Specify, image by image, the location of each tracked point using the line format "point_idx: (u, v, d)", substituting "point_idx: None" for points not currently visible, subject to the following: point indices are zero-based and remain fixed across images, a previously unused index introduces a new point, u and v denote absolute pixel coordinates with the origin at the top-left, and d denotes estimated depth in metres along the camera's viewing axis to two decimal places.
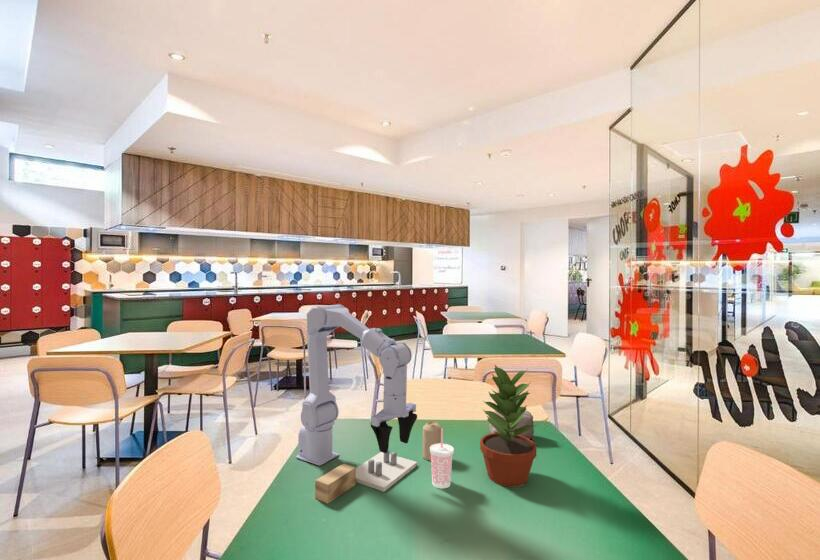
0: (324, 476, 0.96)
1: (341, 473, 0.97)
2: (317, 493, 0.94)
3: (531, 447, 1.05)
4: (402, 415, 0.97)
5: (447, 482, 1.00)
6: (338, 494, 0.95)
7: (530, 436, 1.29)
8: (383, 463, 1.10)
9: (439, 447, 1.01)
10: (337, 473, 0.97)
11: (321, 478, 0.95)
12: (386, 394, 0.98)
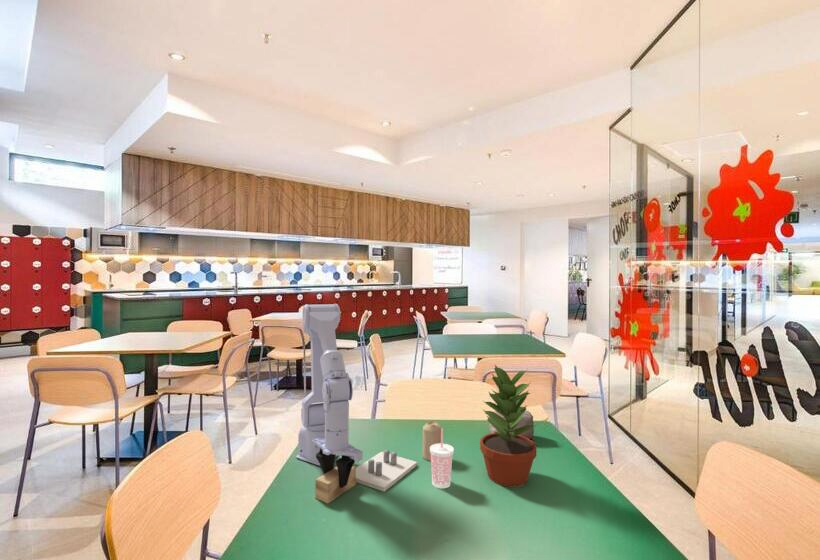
0: (324, 475, 0.96)
1: None
2: (317, 492, 0.94)
3: (531, 447, 1.05)
4: None
5: (447, 482, 1.00)
6: (338, 493, 0.95)
7: (530, 436, 1.29)
8: (383, 463, 1.10)
9: (439, 447, 1.01)
10: (337, 472, 0.97)
11: (321, 477, 0.95)
12: None
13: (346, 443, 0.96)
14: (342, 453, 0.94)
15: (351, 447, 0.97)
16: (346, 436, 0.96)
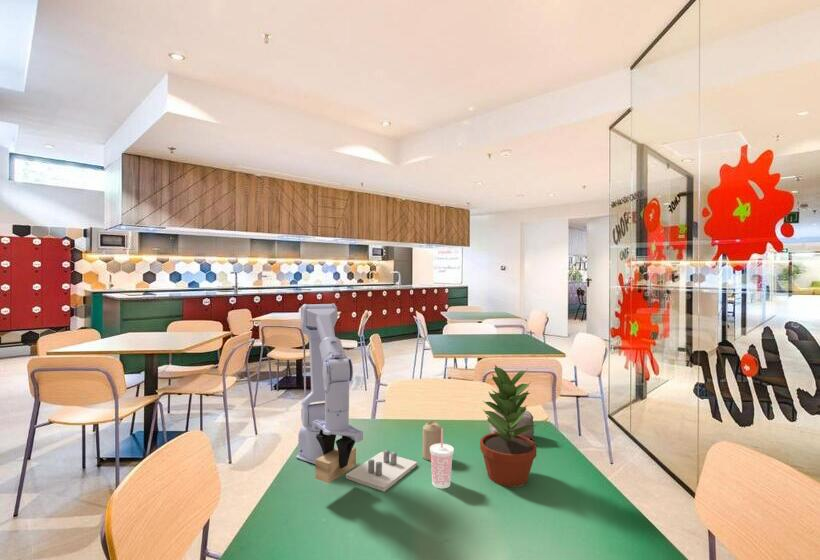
0: (324, 456, 0.96)
1: None
2: (317, 472, 0.94)
3: (531, 447, 1.05)
4: None
5: (447, 482, 1.00)
6: (338, 474, 0.95)
7: (530, 436, 1.29)
8: (383, 463, 1.10)
9: (439, 447, 1.01)
10: (337, 453, 0.97)
11: (321, 457, 0.95)
12: None
13: (346, 424, 0.96)
14: (342, 433, 0.94)
15: (351, 428, 0.97)
16: (346, 417, 0.96)
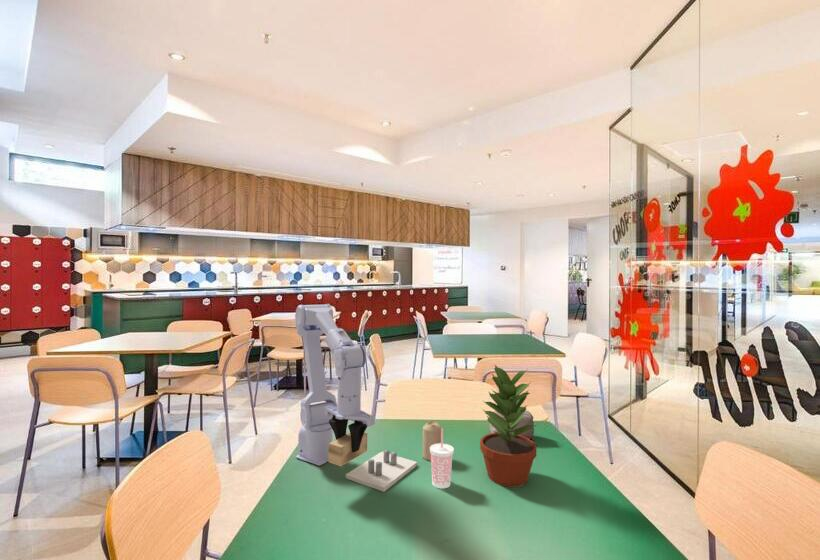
0: (337, 440, 0.98)
1: None
2: (330, 456, 0.96)
3: (531, 447, 1.05)
4: None
5: (447, 482, 1.00)
6: (351, 457, 0.97)
7: (530, 436, 1.29)
8: (383, 463, 1.10)
9: (439, 447, 1.01)
10: (350, 438, 1.00)
11: (334, 442, 0.97)
12: None
13: (358, 409, 0.98)
14: (355, 418, 0.96)
15: (363, 413, 0.99)
16: (358, 402, 0.98)
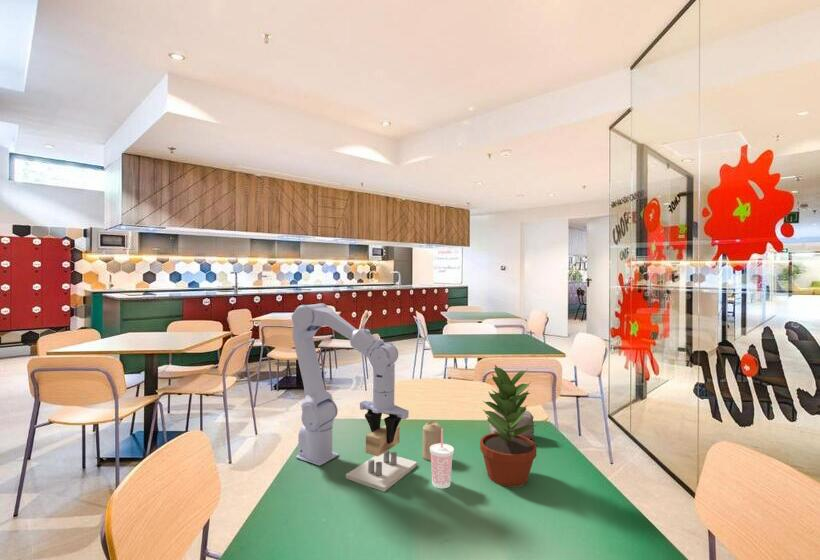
0: (373, 432, 1.06)
1: None
2: (367, 447, 1.04)
3: (531, 447, 1.05)
4: None
5: (447, 482, 1.00)
6: (386, 448, 1.05)
7: (530, 436, 1.29)
8: (383, 463, 1.10)
9: (439, 447, 1.01)
10: (384, 430, 1.07)
11: (371, 434, 1.05)
12: None
13: (393, 403, 1.06)
14: (390, 411, 1.04)
15: (397, 407, 1.07)
16: (393, 397, 1.06)
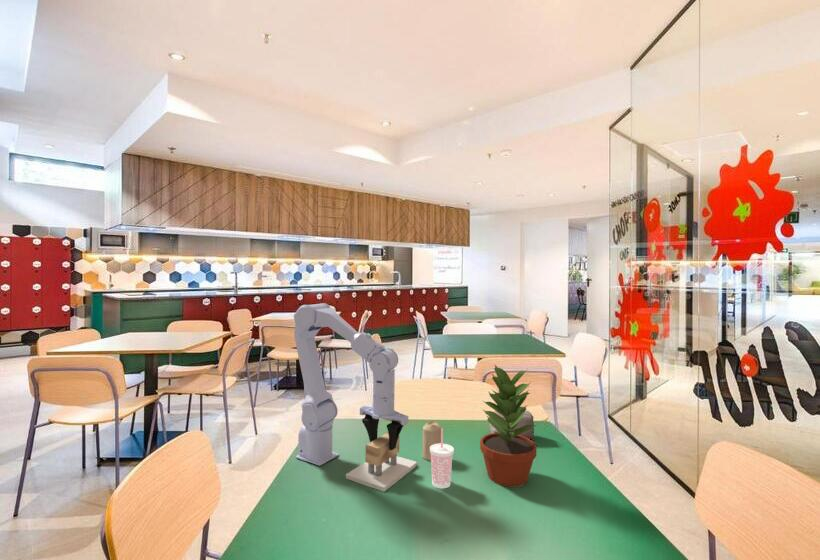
0: (373, 442, 1.06)
1: (388, 440, 1.07)
2: (367, 456, 1.04)
3: (531, 447, 1.05)
4: None
5: (447, 482, 1.00)
6: (386, 458, 1.05)
7: (530, 436, 1.29)
8: (383, 463, 1.10)
9: (439, 447, 1.01)
10: (384, 440, 1.07)
11: (370, 443, 1.05)
12: None
13: (392, 409, 1.06)
14: (390, 417, 1.04)
15: (397, 413, 1.07)
16: (392, 403, 1.06)
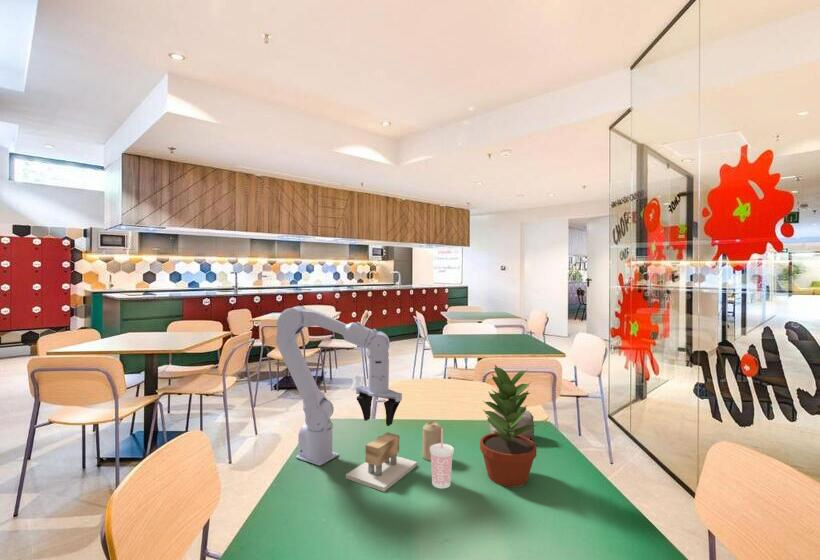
0: (373, 442, 1.06)
1: (388, 440, 1.07)
2: (367, 456, 1.04)
3: (531, 447, 1.05)
4: None
5: (447, 482, 1.00)
6: (386, 458, 1.05)
7: (530, 436, 1.29)
8: (383, 463, 1.10)
9: (439, 447, 1.01)
10: (384, 440, 1.07)
11: (370, 443, 1.05)
12: None
13: (387, 387, 1.14)
14: (385, 395, 1.12)
15: (391, 391, 1.15)
16: (387, 381, 1.14)
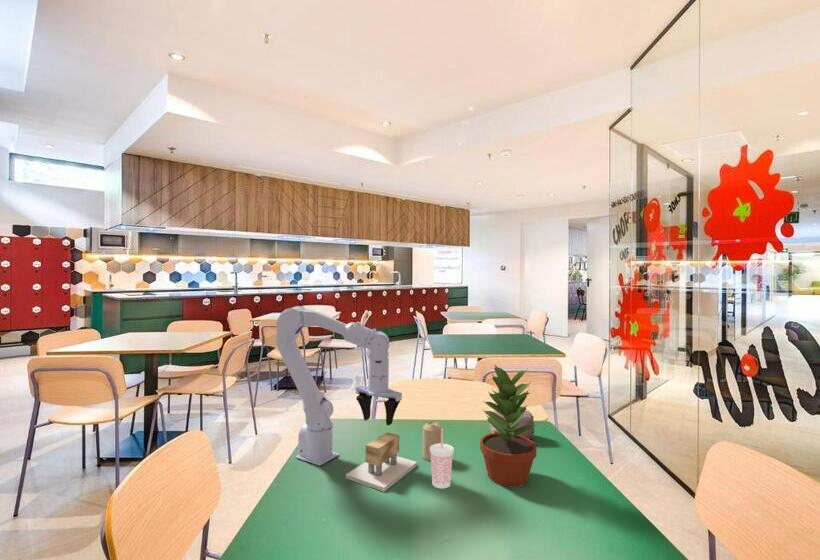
0: (373, 442, 1.06)
1: (388, 440, 1.07)
2: (367, 456, 1.04)
3: (531, 447, 1.05)
4: None
5: (447, 482, 1.00)
6: (386, 458, 1.05)
7: (530, 436, 1.29)
8: (383, 463, 1.10)
9: (439, 447, 1.01)
10: (384, 440, 1.07)
11: (370, 443, 1.05)
12: None
13: (387, 387, 1.14)
14: (385, 394, 1.12)
15: (391, 391, 1.15)
16: (387, 381, 1.14)
